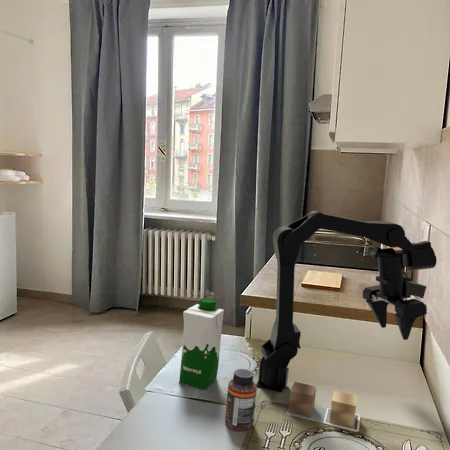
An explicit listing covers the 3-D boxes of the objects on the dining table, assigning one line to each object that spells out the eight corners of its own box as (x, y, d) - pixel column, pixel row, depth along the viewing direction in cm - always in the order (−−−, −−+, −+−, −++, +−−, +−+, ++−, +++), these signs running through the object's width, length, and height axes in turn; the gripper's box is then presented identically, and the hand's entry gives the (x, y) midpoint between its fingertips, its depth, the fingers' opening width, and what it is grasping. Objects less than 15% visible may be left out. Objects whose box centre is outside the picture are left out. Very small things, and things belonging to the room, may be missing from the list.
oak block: (329, 422, 98) (331, 400, 98) (331, 411, 103) (334, 390, 103) (353, 428, 97) (356, 406, 96) (354, 417, 102) (357, 395, 101)
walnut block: (288, 412, 101) (290, 390, 101) (292, 401, 106) (294, 381, 105) (310, 417, 100) (313, 396, 99) (314, 407, 104) (316, 386, 104)
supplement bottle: (223, 416, 98) (228, 365, 96) (250, 417, 98) (255, 366, 97) (225, 432, 92) (230, 378, 91) (255, 433, 92) (260, 379, 91)
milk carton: (221, 378, 116) (228, 301, 113) (206, 393, 107) (213, 310, 105) (190, 369, 119) (196, 295, 116) (173, 383, 110) (179, 303, 108)
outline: (323, 423, 98) (323, 422, 98) (327, 408, 105) (327, 407, 105) (358, 432, 95) (358, 431, 95) (360, 415, 102) (360, 415, 102)
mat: (286, 414, 100) (286, 413, 100) (292, 400, 107) (292, 399, 107) (354, 431, 96) (354, 431, 96) (355, 416, 102) (356, 415, 102)
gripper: (445, 275, 106) (448, 340, 107) (397, 261, 124) (400, 316, 126) (403, 283, 103) (406, 349, 105) (360, 267, 121) (363, 323, 123)
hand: (394, 333), depth 115 cm, fingers open, 9 cm apart
